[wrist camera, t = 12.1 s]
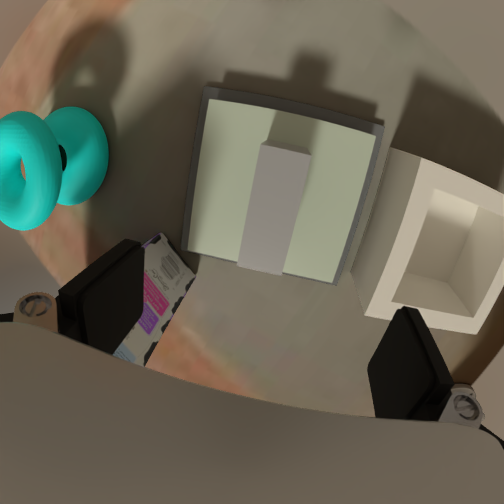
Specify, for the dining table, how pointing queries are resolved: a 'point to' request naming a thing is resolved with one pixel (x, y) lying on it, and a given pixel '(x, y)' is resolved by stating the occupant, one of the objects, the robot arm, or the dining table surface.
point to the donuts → (48, 163)
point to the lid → (276, 189)
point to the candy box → (156, 299)
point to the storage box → (431, 246)
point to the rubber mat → (290, 108)
